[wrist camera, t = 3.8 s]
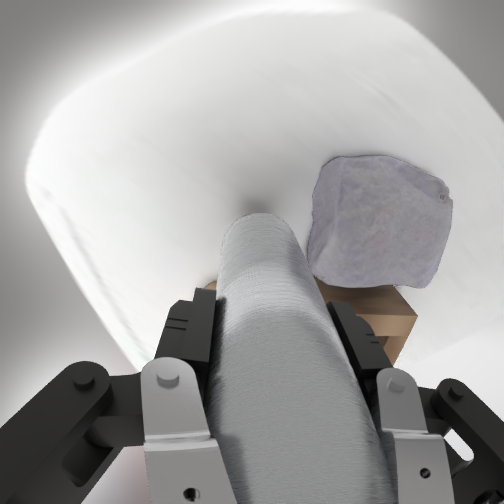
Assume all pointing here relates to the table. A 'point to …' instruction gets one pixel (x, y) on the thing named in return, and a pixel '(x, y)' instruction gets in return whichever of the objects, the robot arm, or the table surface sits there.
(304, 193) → the table surface
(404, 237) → the stone block
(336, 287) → the collar
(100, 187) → the table surface
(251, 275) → the steel pin
